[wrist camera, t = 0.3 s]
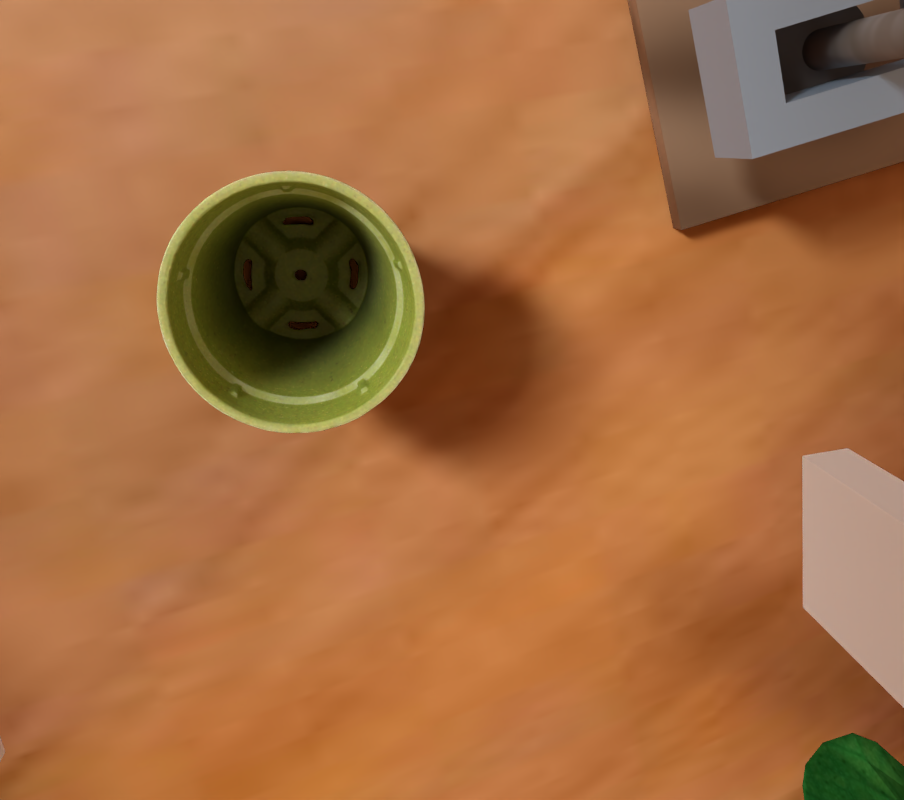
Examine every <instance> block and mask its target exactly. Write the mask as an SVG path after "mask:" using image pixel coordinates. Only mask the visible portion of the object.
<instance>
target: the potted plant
mask: <svg viewBox="0 0 904 800" xmlns="http://www.w3.org/2000/svg"><path fill="white" fill-rule="evenodd" d="M803 793H804V800H904V766H903V765H902V764H900V763H899V762H898V761H897V760H896V759H895V758H894V757H893V756H891V755H890V754H889V753H888V752H887V751H886V750H885V749H883V748H882V747H881V746H880V745H879V744H878V743H877V742H874V741H872V740H869V739H867V738H864V737H861V736H859V735H856V734H854V733H851V734H848V735H845V736H842V737H839V738H836V739H833V740H830V741H827V742H824V743H822V745H821V746H820V747H819V748H818V750H817V751H816V752H815V753H814V755H813V756H812V757H811V758H810V760H809V761H808V762H807V763H806V765H805V772H804V779H803Z"/></svg>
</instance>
